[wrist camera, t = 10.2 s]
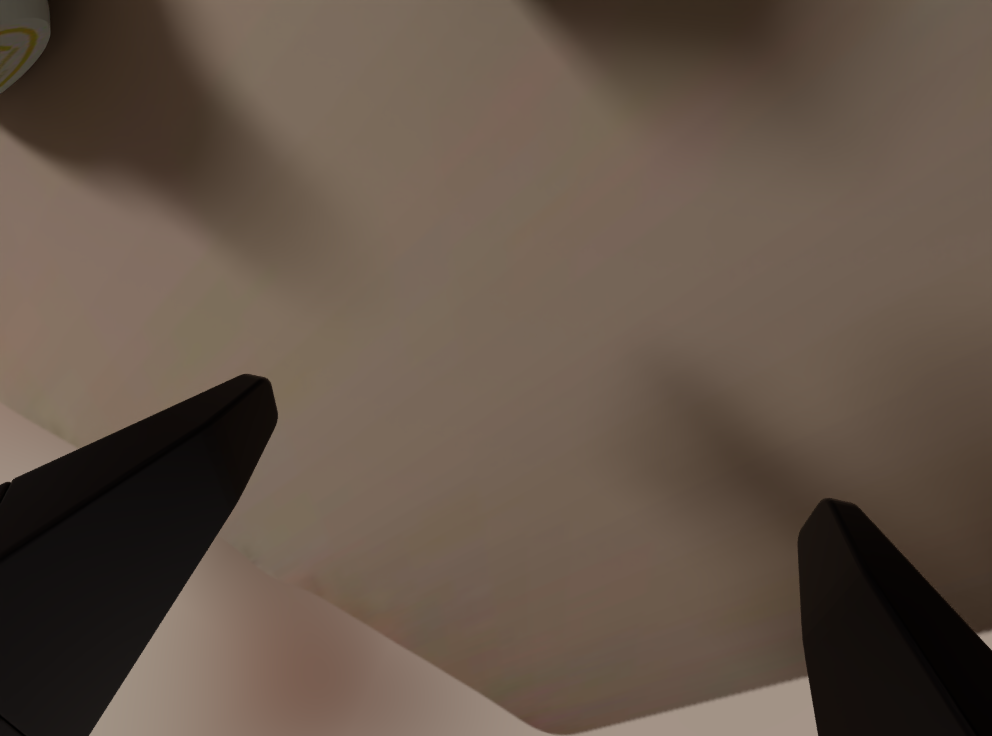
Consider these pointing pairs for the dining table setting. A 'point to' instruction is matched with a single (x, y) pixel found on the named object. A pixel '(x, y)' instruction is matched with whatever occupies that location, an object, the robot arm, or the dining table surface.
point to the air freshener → (21, 37)
